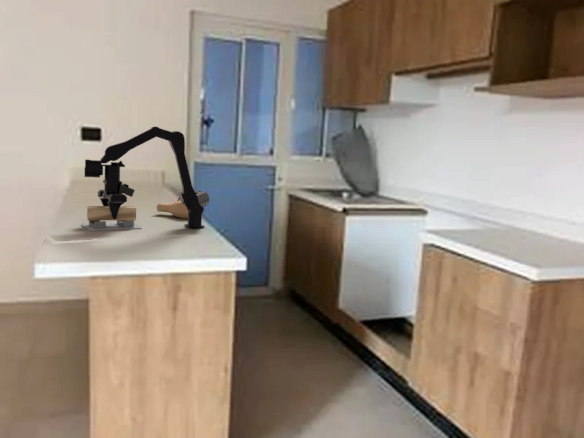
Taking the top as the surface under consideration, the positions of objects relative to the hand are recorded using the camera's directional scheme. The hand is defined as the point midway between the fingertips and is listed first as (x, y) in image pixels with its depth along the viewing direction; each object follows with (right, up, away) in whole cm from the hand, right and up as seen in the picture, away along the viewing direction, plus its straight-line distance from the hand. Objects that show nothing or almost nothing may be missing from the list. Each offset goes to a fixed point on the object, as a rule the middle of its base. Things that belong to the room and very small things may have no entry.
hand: (111, 217), depth 216 cm
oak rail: (0, -1, 0) cm, 1 cm away
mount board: (0, -4, +1) cm, 4 cm away
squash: (+19, 0, +35) cm, 39 cm away
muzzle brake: (+22, +2, +53) cm, 58 cm away
